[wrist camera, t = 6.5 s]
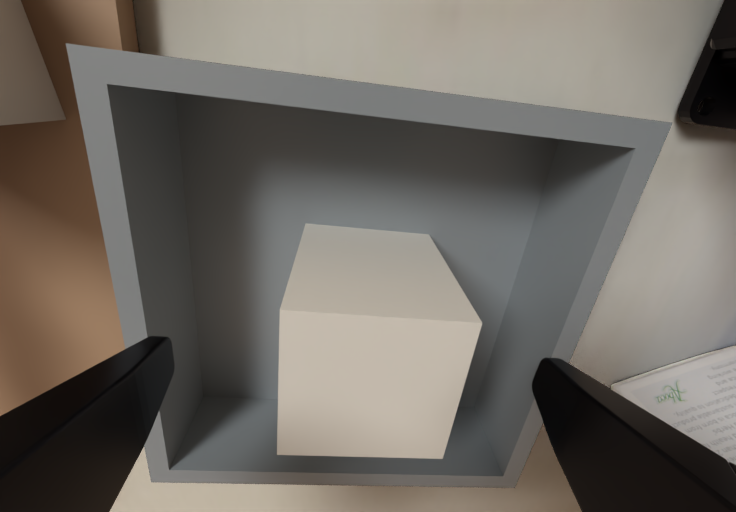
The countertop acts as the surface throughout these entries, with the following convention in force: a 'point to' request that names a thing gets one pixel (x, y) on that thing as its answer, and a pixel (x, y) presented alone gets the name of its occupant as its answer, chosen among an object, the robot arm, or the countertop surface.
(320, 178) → the bin
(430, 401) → the stone
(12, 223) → the brown rectangular board
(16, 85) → the cream white block
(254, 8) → the countertop surface
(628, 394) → the syrup box
